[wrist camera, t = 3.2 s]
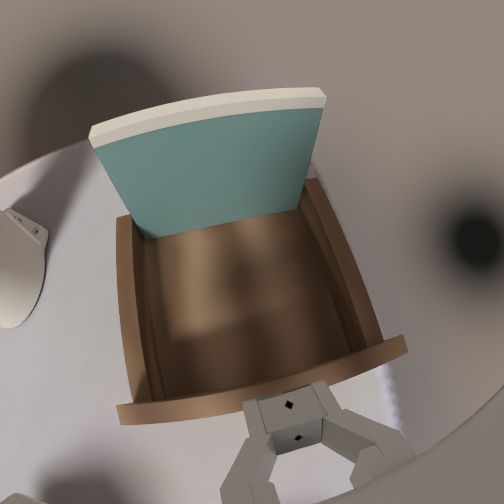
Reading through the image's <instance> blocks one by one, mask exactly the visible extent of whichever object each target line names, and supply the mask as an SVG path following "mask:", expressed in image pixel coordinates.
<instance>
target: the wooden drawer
mask: <svg viewBox="0 0 504 504" xmlns="http://www.w3.org/2000/svg"><path fill="white" fill-rule="evenodd" d="M116 265H117V288H118V303H119V314H120V324H121V333H122V341H123V349H124V355H125V362H126V368H127V374H128V379H129V385H130V390H131V394H132V399H133V403H129V404H123V405H116V406H117V411H118V415H119V419H120V423H121V425H140V424H155V423H167V422H176V421H185V420H192V419H199V418H206V417H212V416H218V415H223V414H228V413H234V412H238V411H243V406H242V401H247V400H252V399H256V398H261V397H265V396H270V395H274V394H278V393H282V392H284V391H287V390H291V389H294V388H297V387H300V386H303V385H307V384H311V383H314V382H317V381H320V380H324V381H325V382H326V384H327V386H330V385H333V384H336V383H339V382H341V381H344V380H347V379H349V378H352V377H354V376H357V375H359V374H362V373H364V372H366V371H369V370H371V369H373V368H376V367H378V366H380V365H382V364H385V363H387V362H389V361H391V360H393V359H395V358H397V357H399V356H401V355H403V354H405V353H407V352H408V350H407V346H406V343H405V340H404V337H403V335H399V336H397V337H394V338H391V339H388V340H385V341H384V340H383V336H382V333H381V330H380V327H379V324H378V321H377V318H376V315H375V312H374V310H373V307H372V304H371V301H370V298H369V296H368V293H367V290H366V288H365V285H364V282H363V280H362V277H361V275H360V272H359V269H358V267H357V264H356V262H355V259H354V257H353V255H352V252H351V250H350V247H349V245H348V243H347V240H346V238H345V236H344V233H343V231H342V229H341V227H340V224H339V222H338V220H337V218H336V216H335V213H334V211H333V209H332V207H331V205H330V203H329V201H328V199H327V196H326V194H325V192H324V190H323V188H322V186H321V184H320V182H319V180H318V178H312V179H305V182H304V185H303V189H302V193H301V196H300V200H299V203H298V207H297V209H296V210H291V211H285V212H280V213H275V214H269V215H264V216H259V217H254V218H249V219H243V220H238V221H233V222H229V223H224V224H219V225H214V226H209V227H204V228H200V229H195V230H191V231H186V232H181V233H177V234H172V235H168V236H164V237H159V238H155V239H150V240H146V239H145V237H144V236H143V234H142V232H141V231H140V229H139V228H138V226H137V224H136V223H135V221H134V219H133V218H132V216H131V214H129V215H125V216H121V217H118V218H117V221H116ZM256 400H257V399H256Z"/></svg>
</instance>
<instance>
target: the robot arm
mask: <svg viewBox="0 0 504 504" xmlns="http://www.w3.org/2000/svg"><path fill="white" fill-rule="evenodd" d="M48 234H49V233H48V230H47V229H45V228H44V227H42V226H41V225H39V224H37V223H35V222H33V221H32V220H30V219H28V218H26V217H24V216H23V215H21V214H19V213H17V212H16V211H14V210H12V209H10V208H7V209H5V210H4V211H3V212H2V211H1V210H0V328H4V329H11V328H15V327H17V326H18V325H20V324H21V323H22V322H23V321H24V320H25V319H26V318H27V317H28V315H29V314H30V312H31V311H32V309H33V307H34V306H35V304H36V301H37V299H38V297H39V294H40V291H41V287H42V283H43V278H44V270H45V259H44V251H45V247H46V243H47V240H48ZM256 399H257V400H256ZM256 399H252V400H247V401H242V406H243V410H244V414H245V418H246V423H247V427H248V431H249V435H250V438H247V439H246V440H245V442H244V444H243V446H242V448H241V450H240V452H239V454H238V456H237V458H236V460H235V461H234V463H233V465H232V467H231V469H230V471H229V473H228V475H227V477H226V478H225V480H224V482H223V484H222V486H221V488H220V493H221V499H222V504H280V501H279V498H278V495H277V493H276V489H275V486H274V484H273V483H271V482H268V481H269V478H270V475H271V472H272V470H273V467H274V464H275V461H276V458H277V455H281V454H284V453H287V452H291V451H294V450H297V449H300V448H304V447H307V446H311V445H314V444H317V443H320V442H321V443H322V444H324V445H325V446H327V447H328V448H330V449H331V450H333V451H335V452H336V453H338V454H340V455H341V456H343V457H345V458H346V459H348V460H350V461H351V462H353V463H355V466H354V469H353V471H352V474H351V476H350V478H349V479H350V481H351V483H352V485H353V487H354V489H353V490H350V491H348V492H345V493H343V494H340V495H338V496H335V497H332V498H330V499H327V500H324V501H321V502H318V503H315V504H504V385H503V387H501V388H500V390H499V391H498V392H497V393H496V394H495V395H494V396H493V397H492V398H490V400H488V401H487V403H485V404H484V405H483V406H482V407H481V408H480V409H479V410H478V411H476V412H475V413H474V414H473V415H472V416H471V417H470V418H468V419H467V420H466V421H465V422H464V423H463V424H461V425H460V426H459V427H457V428H456V429H455V430H454V431H452V432H451V433H450V434H448V435H447V436H446V437H444V438H443V439H442V440H440V441H439V442H437V443H436V444H434V445H433V446H432V447H430V448H429V449H427V450H426V451H424V452H423V453H421V454H420V455H418V456H417V455H416V454H415V453H414V451H413V450H412V448H411V447H410V445H409V444H408V443H407V441H406V440H405V438H404V437H403V436H402V434H401V433H400V431H398V430H396V429H393V428H390V427H388V426H385V425H383V424H380V423H378V422H375V421H373V420H370V419H368V418H366V417H363V416H361V415H359V414H356V413H354V412H352V411H350V410H347V409H344V410H342V409H341V408H340V406H339V404H338V403H337V401H336V399H335V397H334V396H333V394H332V392H331V391H330V389H329V387H328V386H327V384H326V382H325V381H324V380H320V381H317V382H314V383H311V384H307V385H303V386H300V387H297V388H294V389H291V390H287V391H284V392H282V393H278V394H274V395H270V396H265V397H261V398H256ZM0 504H47V503H44V502H41V501H39V500H36V499H33V498H31V497H28V496H26V495H24V494H20V493H14V494H12V495H10V496H9V497H7V498H6V499H5V500H3V501H2V502H1V503H0Z"/></svg>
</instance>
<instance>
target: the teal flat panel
mask: <svg viewBox="0 0 504 504" xmlns="http://www.w3.org/2000/svg"><path fill="white" fill-rule="evenodd" d="M326 98H327V97H326V96H325V94H324V93H323V92H322V91H321V90H320V89H319V88H318V87H315V88H313V87H311V88H310V87H307V88H306V87H305V88H304V87H303V88H277V89H261V90H250V91H240V92H233V93H225V94H218V95H211V96H205V97H199V98H193V99H188V100H183V101H178V102H174V103H169V104H165V105H160V106H156V107H153V108H148V109H145V110H141V111H137V112H134V113H130V114H127V115H124V116H120V117H117V118H114V119H111V120H108V121H105V122H102V123H99V124H96V125H94V126H92V128H91V131H90V134H89V140H90V142H91V144H92V146H93V148H94V149H95V151H96V153H97V155H98V157H99V159H100V161H101V163H102V164H103V166H104V168H105V170H106V172H107V174H108V176H109V178H110V179H111V181H112V183H113V185H114V187H115V188H116V190H117V192H118V194H119V195H120V197H121V199H122V201H123V202H124V204H125V206H126V208H127V209H128V211H129V213H130V214H131V216H132V218H133V219H134V221H135V223H136V224H137V226H138V228H139V229H140V231H141V232H142V234H143V236H144V237H145V239H146V240H150V239H155V238H159V237H164V236H168V235H172V234H177V233H181V232H186V231H191V230H195V229H200V228H204V227H209V226H214V225H219V224H224V223H229V222H233V221H238V220H243V219H249V218H254V217H259V216H264V215H269V214H275V213H280V212H285V211H291V210H296V209H297V207H298V203H299V200H300V196H301V193H302V189H303V185H304V182H305V178H306V174H307V170H308V167H309V163H310V159H311V155H312V151H313V147H314V143H315V140H316V136H317V132H318V128H319V124H320V120H321V116H322V111H323V108H324V106H325V102H326Z"/></svg>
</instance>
